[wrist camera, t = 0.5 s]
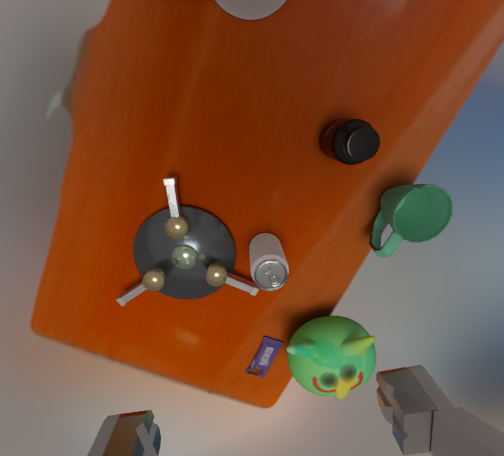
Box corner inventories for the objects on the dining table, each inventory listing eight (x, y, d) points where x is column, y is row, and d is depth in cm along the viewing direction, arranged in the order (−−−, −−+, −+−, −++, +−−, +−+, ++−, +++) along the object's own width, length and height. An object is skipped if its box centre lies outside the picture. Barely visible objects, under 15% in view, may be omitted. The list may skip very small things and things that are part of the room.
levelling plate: (126, 208, 54) (120, 213, 51) (231, 201, 54) (230, 205, 51) (146, 298, 60) (141, 306, 58) (239, 291, 61) (239, 299, 58)
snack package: (264, 339, 64) (284, 345, 65) (263, 333, 65) (283, 339, 66) (245, 375, 67) (264, 381, 68) (245, 369, 69) (263, 374, 70)
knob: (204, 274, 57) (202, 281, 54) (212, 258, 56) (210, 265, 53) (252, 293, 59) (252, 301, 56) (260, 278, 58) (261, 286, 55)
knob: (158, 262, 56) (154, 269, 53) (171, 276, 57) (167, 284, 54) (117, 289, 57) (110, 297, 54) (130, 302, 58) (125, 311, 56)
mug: (390, 165, 53) (422, 173, 43) (427, 192, 55) (466, 205, 45) (341, 227, 57) (362, 247, 47) (378, 250, 59) (404, 274, 49)
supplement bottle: (320, 118, 49) (344, 115, 38) (358, 120, 50) (393, 119, 39) (315, 158, 52) (336, 166, 40) (351, 160, 52) (382, 169, 41)
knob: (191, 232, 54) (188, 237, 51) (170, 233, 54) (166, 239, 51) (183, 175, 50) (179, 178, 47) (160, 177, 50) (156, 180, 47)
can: (260, 266, 59) (264, 299, 48) (242, 242, 57) (243, 271, 46) (286, 250, 58) (297, 280, 47) (269, 226, 56) (277, 251, 45)
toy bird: (291, 365, 68) (304, 426, 55) (274, 310, 63) (284, 362, 49) (364, 347, 67) (395, 405, 54) (353, 289, 62) (386, 336, 48)
